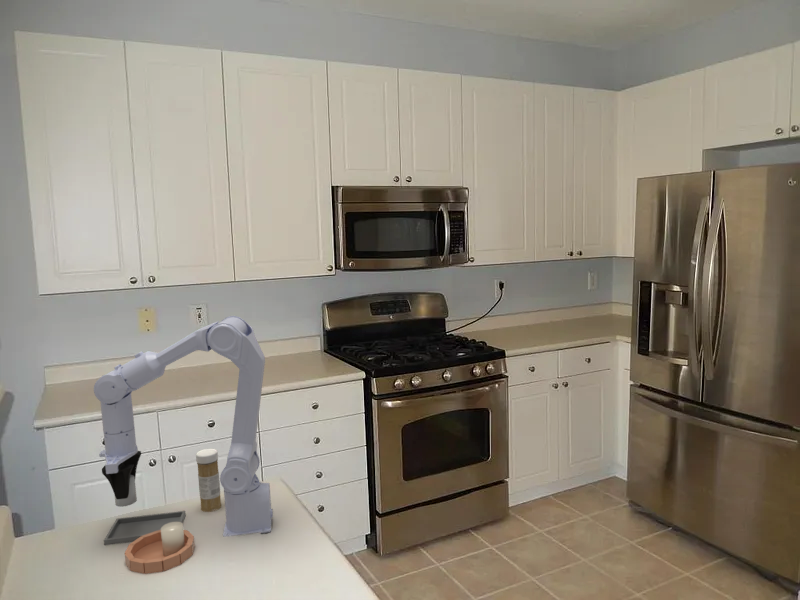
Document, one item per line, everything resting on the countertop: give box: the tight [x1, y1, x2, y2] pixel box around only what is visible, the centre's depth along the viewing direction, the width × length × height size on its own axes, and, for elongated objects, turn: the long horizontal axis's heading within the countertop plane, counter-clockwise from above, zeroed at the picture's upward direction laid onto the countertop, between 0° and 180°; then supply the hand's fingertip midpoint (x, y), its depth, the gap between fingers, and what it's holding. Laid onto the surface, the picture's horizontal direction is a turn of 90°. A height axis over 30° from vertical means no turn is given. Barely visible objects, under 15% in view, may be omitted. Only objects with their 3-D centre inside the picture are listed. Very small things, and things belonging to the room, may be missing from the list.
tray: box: [103, 510, 187, 546], centre depth 123 cm, size 14×9×2 cm, turn 101°
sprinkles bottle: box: [195, 448, 223, 513], centre depth 131 cm, size 5×5×14 cm
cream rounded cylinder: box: [161, 522, 185, 557], centre depth 113 cm, size 4×4×5 cm
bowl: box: [124, 529, 196, 575], centre depth 113 cm, size 12×12×2 cm
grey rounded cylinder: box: [113, 475, 138, 508], centre depth 121 cm, size 4×4×5 cm
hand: (125, 493), depth 121 cm, fingers closed on grey rounded cylinder, 4 cm apart
